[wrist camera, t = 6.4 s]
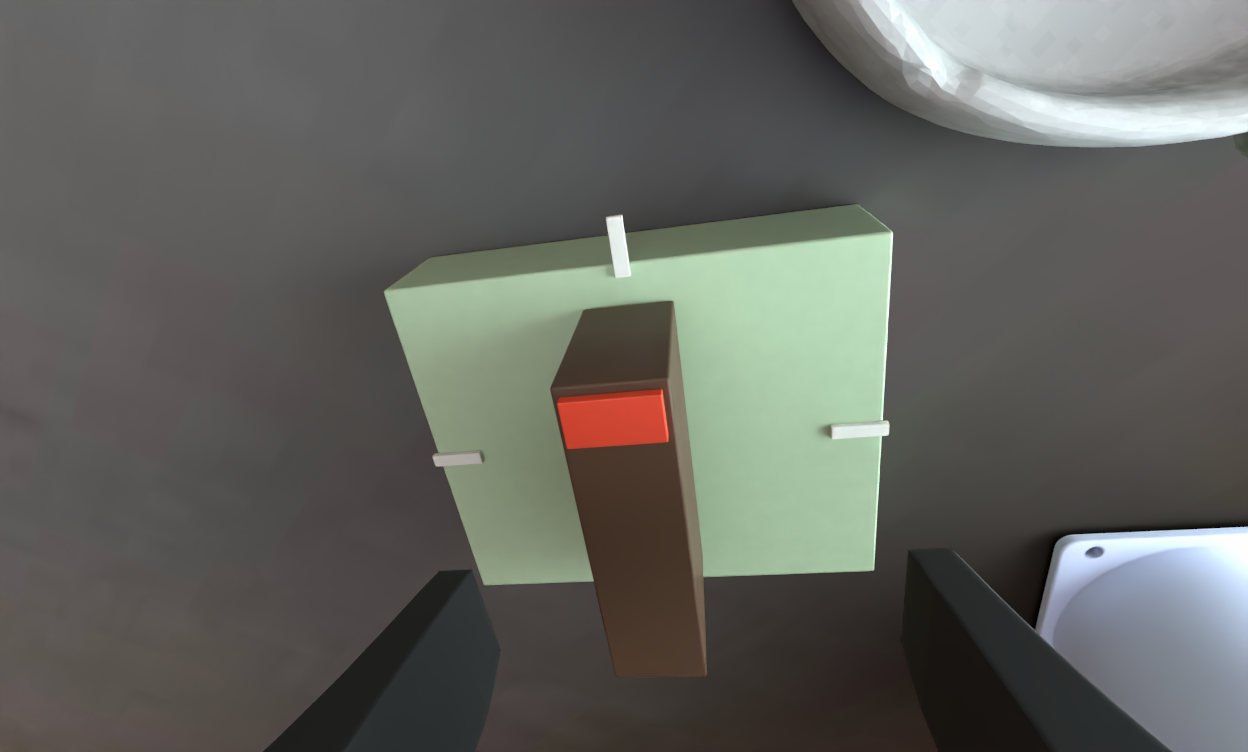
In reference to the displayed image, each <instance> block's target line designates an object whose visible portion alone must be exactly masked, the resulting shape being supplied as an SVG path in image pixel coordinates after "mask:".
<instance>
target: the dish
mask: <svg viewBox="0 0 1248 752" xmlns="http://www.w3.org/2000/svg"><path fill="white" fill-rule="evenodd" d="M792 2H793V3H794V5H795V7H796V8H797V10H798V11H799V13H800V14H801V16H802V17H803V19H804V20H805V22H806V23H807V24H808V26H809V27H810V28H811V29H812V31H813V32H814V33H815V35H816V36H817V37H818V38H819V40H820V41H821V42H822V44H823V45H824V46H825V47H826V49H827V50H828V51H829V52H830V53H831V54H832V55H833V56H834V57H835V58H836V60H837V61H838V62H839V63H840V64H841V65H843V66H844V67H845V68H846V69H847V70H848V71H849V72H851V73H852V74H853V75H854V76H855V77H856V78H857V79H859V80H860V81H861V82H862V83H863V84H864V85H865V86H866V87H868V88H869V89H870V90H871V91H873V92H874V93H876V94H877V95H879V96H880V97H882V98H883V99H885V100H886V101H888V102H889V103H891V104H893V105H895V106H897V107H899V108H901V109H903V110H904V111H906V112H908V113H910V114H913V115H915V116H918V117H920V118H923V119H925V120H928V121H930V122H933V123H935V124H937V125H940V126H943V127H947V128H950V129H954V130H957V131H961V132H965V133H968V134H972V135H977V136H982V137H987V138H993V139H999V140H1005V141H1011V142H1017V143H1027V144H1038V145H1050V146H1067V147H1130V146H1149V145H1161V144H1171V143H1179V142H1187V141H1195V140H1203V139H1211V138H1219V137H1225V136H1230V135H1234V137H1235V145H1236V149H1237V150H1238V151H1239V152H1240V153H1241V154H1242V155H1243V156H1246V157H1248V0H792Z"/></svg>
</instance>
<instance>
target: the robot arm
mask: <svg viewBox="0 0 1248 752" xmlns="http://www.w3.org/2000/svg"><path fill="white" fill-rule="evenodd" d="M1092 547H1093V548H1092ZM1090 548H1091V549H1090ZM1088 549H1090V550H1088ZM901 642H902V646H903V649H904V653H905V656H906V660H907V663H908V667H909V670H910V674H911V677H912V680H913V684H914V687H915V690H916V694H917V697H918V700H919V704H920V707H921V710H922V712H923V715H924V717H925V720H926V722H927V725H928V727H929V730H930V732H931V734H932V737H933V739H934V742H935V744H936V747H937V749H938V752H1248V527H1232V528H1209V529H1187V530H1164V531H1141V532H1118V533H1095V534H1073V535H1067V536H1065V537H1063V538H1061V539H1060V540H1059V541H1057V543H1056V545H1055V547H1054V551H1053V555H1052V559H1051V564H1050V568H1049V572H1048V576H1047V581H1046V585H1045V589H1044V594H1043V598H1042V602H1041V606H1040V611H1039V615H1038V619H1037V624H1036V628H1035V630H1034V629H1033V628H1032V627H1031V626H1030V625H1029V624H1028V623H1027V622H1026V621H1025V620H1024V619H1023V618H1021V617H1020V616H1019V615H1018V614H1017V613H1016V612H1015V611H1014V610H1013V609H1012V608H1011V607H1010V606H1009V605H1008V604H1007V603H1006V602H1005V601H1004V600H1003V599H1002V598H1001V597H1000V596H999V595H998V594H997V593H996V592H995V591H994V590H993V589H992V588H991V587H990V586H989V585H988V584H987V583H986V582H985V581H984V580H983V579H982V578H981V577H980V576H979V575H978V574H977V573H976V572H975V571H974V570H973V569H972V568H971V567H970V566H969V565H968V564H967V563H966V562H965V561H964V560H963V559H962V558H961V557H960V556H959V555H958V554H957V553H956V552H954V551H953V550H952V549H951V548H939V549H917V550H908V560H907V572H906V585H905V598H904V610H903V623H902V636H901ZM499 656H500V647H499V644H498V641H497V639H496V636H495V633H494V630H493V627H492V625H491V622H490V619H489V616H488V613H487V611H486V608H485V605H484V602H483V599H482V597H481V594H480V591H479V588H478V585H477V583H476V580H475V577H474V574H473V571H472V570H452V571H439V572H438V573H437V574H436V575H435V576H434V577H433V578H432V579H431V580H430V581H429V582H428V583H427V584H426V585H425V586H424V588H423V589H422V590H421V591H420V592H419V593H418V594H417V595H416V596H415V597H414V598H413V599H412V600H411V602H410V603H409V604H408V605H407V606H406V607H405V608H404V609H403V610H402V611H401V612H400V613H399V615H398V616H397V617H396V618H395V619H394V620H393V621H392V622H391V623H390V624H389V625H388V626H387V628H386V629H385V630H384V631H383V632H382V633H381V634H380V635H379V636H378V637H377V638H376V639H375V640H374V641H373V642H372V644H371V645H370V646H369V647H368V648H367V649H366V650H365V651H364V652H363V653H362V654H361V655H360V656H359V657H358V658H357V659H356V660H355V661H354V663H353V664H352V665H351V666H350V667H349V668H348V669H347V670H346V671H345V672H344V673H343V674H342V675H341V676H340V677H339V678H338V679H337V680H336V681H335V682H334V683H333V684H332V685H331V686H330V687H329V688H328V689H327V690H326V691H325V692H324V693H323V694H322V695H321V696H320V697H319V698H318V699H317V700H316V701H315V702H314V703H313V704H312V705H311V706H310V707H309V708H308V709H307V710H306V711H305V712H304V713H303V714H302V715H301V716H300V717H299V718H298V719H297V720H296V721H295V722H294V723H293V724H292V725H291V726H289V727H288V728H287V729H286V730H285V731H284V732H283V733H282V734H281V735H280V736H279V737H278V738H277V739H276V740H275V741H274V742H273V743H272V744H271V745H270V746H268V747H267V748H266V749H265V750H264V751H263V752H475V751H476V748H477V745H478V742H479V739H480V736H481V732H482V729H483V726H484V723H485V720H486V717H487V713H488V710H489V705H490V700H491V696H492V691H493V687H494V682H495V677H496V671H497V666H498V661H499Z"/></svg>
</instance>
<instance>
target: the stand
mask: <svg viewBox="0 0 1248 752" xmlns="http://www.w3.org/2000/svg"><path fill="white" fill-rule="evenodd" d="M606 223H607V229H608V235H606V236H598V237H590V238H582V239H574V240H566V241H558V242H550V243H542V244H534V245H526V246H518V247H510V248H502V249H494V250H486V251H478V252H470V253H462V254H454V255H446V256H438V257H430V258H429V259H427V260H426V261H424V262H423V263H422V264H420V265H419V266H418V267H416V268H415V269H414V270H412V271H411V272H409V273H408V274H407V275H405V276H404V277H403V278H401V279H400V280H399V281H397V282H396V283H394V284H393V285H392V286H390V287H389V288H388V289H386V290H385V291H384V295H385V298H386V301H387V304H388V307H389V309H390V312H391V315H392V318H393V321H394V324H395V327H396V330H397V333H398V336H399V339H400V342H401V344H402V347H403V350H404V353H405V356H406V359H407V362H408V365H409V368H410V371H411V374H412V377H413V379H414V382H415V385H416V388H417V391H418V394H419V397H420V400H421V403H422V406H423V409H424V412H425V414H426V417H427V420H428V423H429V426H430V429H431V432H432V435H433V438H434V441H435V444H436V447H437V449H438V452H439V453H435V454H434V455H433V456H432V457H433V460H434V463H435V466H436V467H439V466H443V467H444V470H445V473H446V476H447V479H448V482H449V484H450V487H451V490H452V493H453V496H454V499H455V502H456V505H457V508H458V511H459V514H460V517H461V520H462V522H463V525H464V528H465V531H466V534H467V537H468V540H469V543H470V546H471V549H472V552H473V555H474V557H475V560H476V563H477V566H478V569H479V572H480V575H481V578H482V581H483V584H484V585H506V584H533V583H560V582H587V581H594V580H593V576H592V571H591V567H590V562H589V558H588V554H587V549H586V545H585V541H584V536H583V532H582V527H581V523H580V519H579V514H578V510H577V505H576V501H575V497H574V492H573V488H572V484H571V479H570V475H569V470H568V466H567V462H566V457H565V453H564V448H563V444H562V440H561V435H560V431H559V426H558V422H557V418H556V413H555V409H554V405H553V400H552V396H551V391H550V387H551V385H552V383H553V380H554V378H555V376H556V373H557V371H558V368H559V366H560V364H561V361H562V359H563V357H564V354H565V352H566V350H567V347H568V345H569V343H570V340H571V338H572V336H573V333H574V331H575V329H576V326H577V324H578V321H579V319H580V317H581V314H582V312H583V310H587V309H596V308H606V307H615V306H625V305H634V304H644V303H653V302H663V301H673V302H674V308H675V316H676V325H677V334H678V343H679V352H680V360H681V369H682V378H683V387H684V396H685V404H686V413H687V422H688V431H689V440H690V448H691V457H692V466H693V475H694V484H695V493H696V501H697V510H698V519H699V528H700V537H701V545H702V554H703V577H722V576H748V575H775V574H802V573H829V572H856V571H873V570H874V561H875V544H876V526H877V509H878V491H879V473H880V456H881V438H882V436H887V435H889V422H888V421H882V420H883V403H884V385H885V368H886V350H887V332H888V315H889V297H890V280H891V262H892V244H893V232H892V231H891V230H890V229H889V228H887V227H886V226H885V225H884V224H882V223H881V222H880V221H878V220H877V219H876V218H875V217H873V216H872V215H871V214H869V213H868V212H867V211H866V210H864V209H863V208H862V207H860V206H859V205H857V204H854V205H846V206H838V207H830V208H822V209H814V210H806V211H798V212H790V213H782V214H774V215H766V216H758V217H750V218H742V219H734V220H726V221H718V222H710V223H702V224H694V225H686V226H678V227H670V228H662V229H654V230H646V231H638V232H630V233H625V231H624V224H623V217H622V215H613V216H607V217H606Z"/></svg>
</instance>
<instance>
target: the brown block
mask: <svg viewBox="0 0 1248 752" xmlns="http://www.w3.org/2000/svg"><path fill="white" fill-rule="evenodd" d="M550 391H551V396H552V400H553V405H554V409H555V413H556V418H557V422H558V426H559V431H560V435H561V440H562V444H563V448H564V453H565V457H566V462H567V466H568V470H569V475H570V479H571V484H572V488H573V492H574V497H575V501H576V505H577V510H578V514H579V519H580V523H581V527H582V532H583V536H584V541H585V545H586V549H587V554H588V558H589V562H590V567H591V571H592V576H593V580H594V584H595V589H596V593H597V598H598V602H599V606H600V611H601V615H602V620H603V624H604V628H605V633H606V637H607V641H608V646H609V650H610V655H611V659H612V663H613V668H614V672H615V676H616V677H618V678H625V677H704V676H706V674H707V667H706V639H705V610H704V582H703V554H702V545H701V537H700V528H699V519H698V510H697V501H696V493H695V484H694V475H693V466H692V457H691V448H690V440H689V431H688V422H687V413H686V404H685V396H684V387H683V378H682V369H681V360H680V352H679V343H678V334H677V325H676V316H675V308H674V302H673V301H663V302H653V303H644V304H634V305H625V306H615V307H606V308H596V309H587V310H583V312H582V314H581V317H580V319H579V321H578V324H577V326H576V329H575V331H574V333H573V336H572V338H571V340H570V343H569V345H568V347H567V350H566V352H565V354H564V357H563V359H562V361H561V364H560V366H559V368H558V371H557V373H556V376H555V378H554V380H553V383H552V385H551V387H550Z"/></svg>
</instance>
